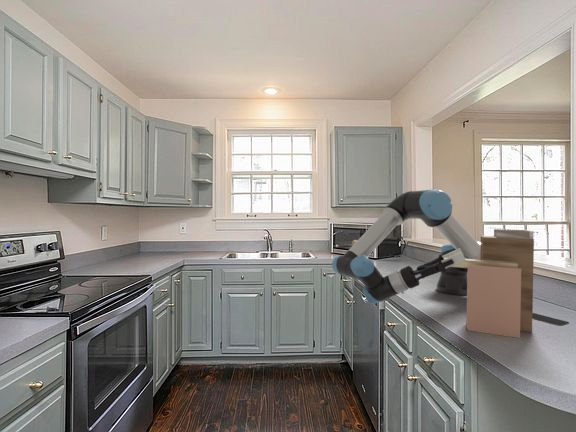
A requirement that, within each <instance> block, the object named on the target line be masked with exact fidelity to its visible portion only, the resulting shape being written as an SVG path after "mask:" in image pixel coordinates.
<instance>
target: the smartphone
mask: <svg viewBox="0 0 576 432" xmlns="http://www.w3.org/2000/svg"><path fill="white" fill-rule="evenodd" d="M532 320H535V321H540V322H543V323H547V324H550V325H553V324H554V326H557V325H558V327H562V326H565V325H568V324H569V325H570V322H569V321H565V320H562V319H558V318H555V317H551V316H547V315H543V314H539V313H535V312H532Z"/></svg>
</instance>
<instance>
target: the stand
mask: <svg viewBox="0 0 576 432" xmlns="http://www.w3.org/2000/svg"><path fill="white" fill-rule="evenodd" d="M480 242H481V250H480V260H490V261H505V262H516V263H517V264H518V269H521V311H520V332H521V331H522V332H523V331H524V332H530V333H533V319H532V313H534V312H533V309H534V306H533V301H534V299H533V297H534V295H533V294H534V257H535V256H534V253H535V250H534V248H535V247H534V246H535V239H534V230H531V229H529V230H528V229H502V228H501V229H500V228H499V229H498V228H494V229H493V235H480Z"/></svg>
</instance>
